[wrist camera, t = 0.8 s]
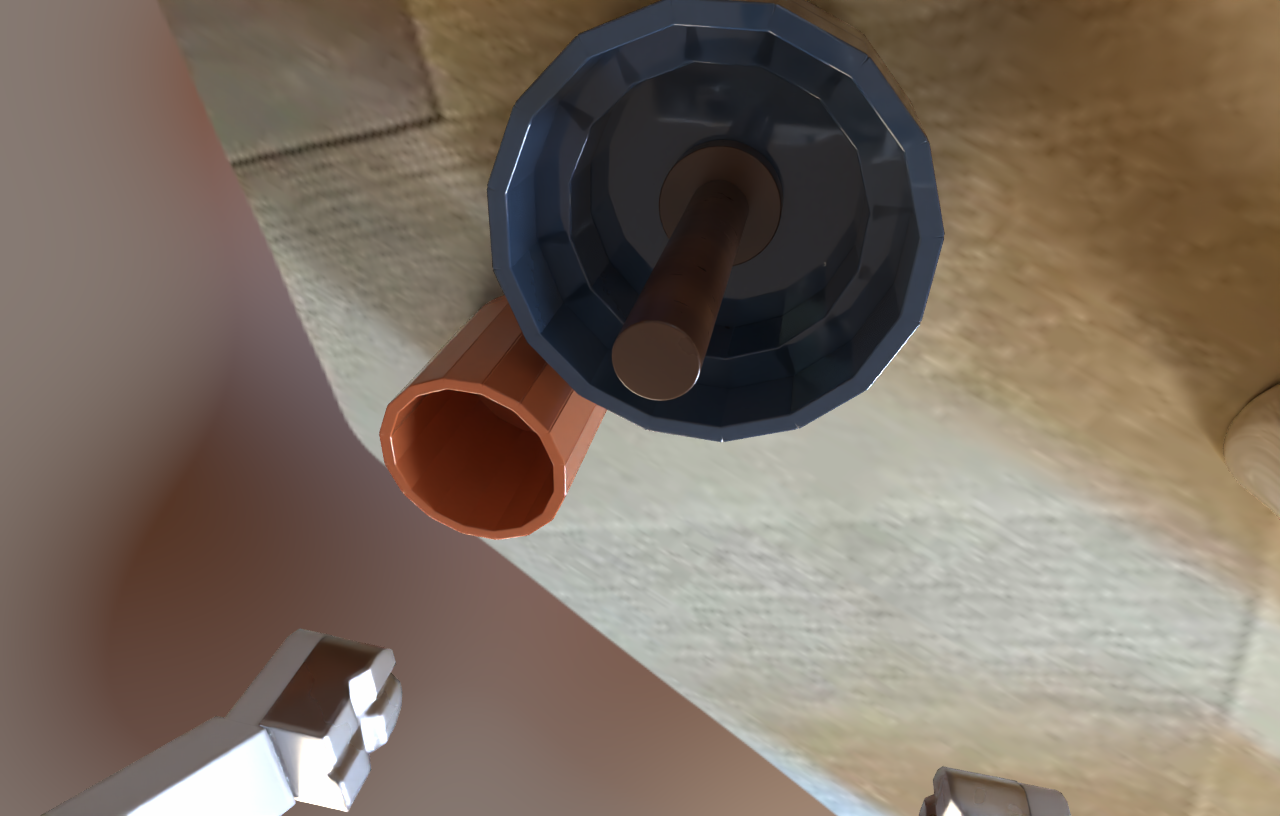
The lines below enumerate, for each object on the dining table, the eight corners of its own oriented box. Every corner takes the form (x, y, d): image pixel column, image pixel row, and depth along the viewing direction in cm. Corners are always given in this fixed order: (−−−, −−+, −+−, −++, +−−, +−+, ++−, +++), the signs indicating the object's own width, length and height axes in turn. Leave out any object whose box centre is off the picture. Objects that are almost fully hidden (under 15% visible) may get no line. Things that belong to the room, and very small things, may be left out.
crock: (456, 281, 34) (365, 365, 27) (618, 302, 33) (563, 396, 26) (470, 419, 38) (394, 521, 32) (614, 442, 37) (567, 553, 30)
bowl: (543, -27, 26) (470, -16, 21) (967, -2, 24) (1005, 16, 19) (553, 334, 34) (502, 408, 29) (874, 378, 32) (882, 468, 27)
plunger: (666, 133, 28) (562, 261, 17) (791, 145, 27) (763, 285, 16) (660, 251, 30) (565, 426, 20) (774, 264, 29) (739, 454, 19)
